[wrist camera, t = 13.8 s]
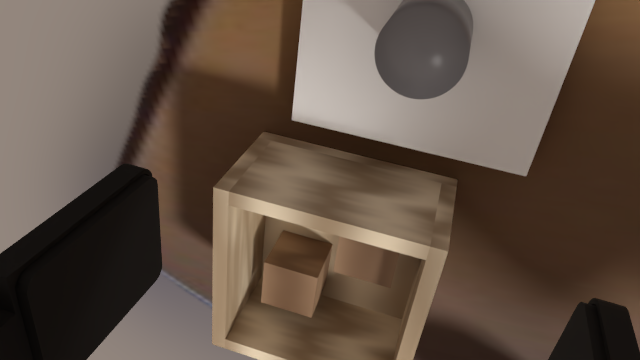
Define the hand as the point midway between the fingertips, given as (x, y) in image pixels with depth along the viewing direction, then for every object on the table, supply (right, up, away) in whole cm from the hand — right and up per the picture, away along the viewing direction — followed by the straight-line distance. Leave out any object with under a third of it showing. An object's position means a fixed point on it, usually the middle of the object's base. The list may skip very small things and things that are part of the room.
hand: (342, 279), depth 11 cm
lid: (+6, +11, +18) cm, 22 cm away
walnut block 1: (-2, -4, +29) cm, 30 cm away
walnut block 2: (+4, -1, +26) cm, 26 cm away
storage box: (+1, -2, +28) cm, 29 cm away
